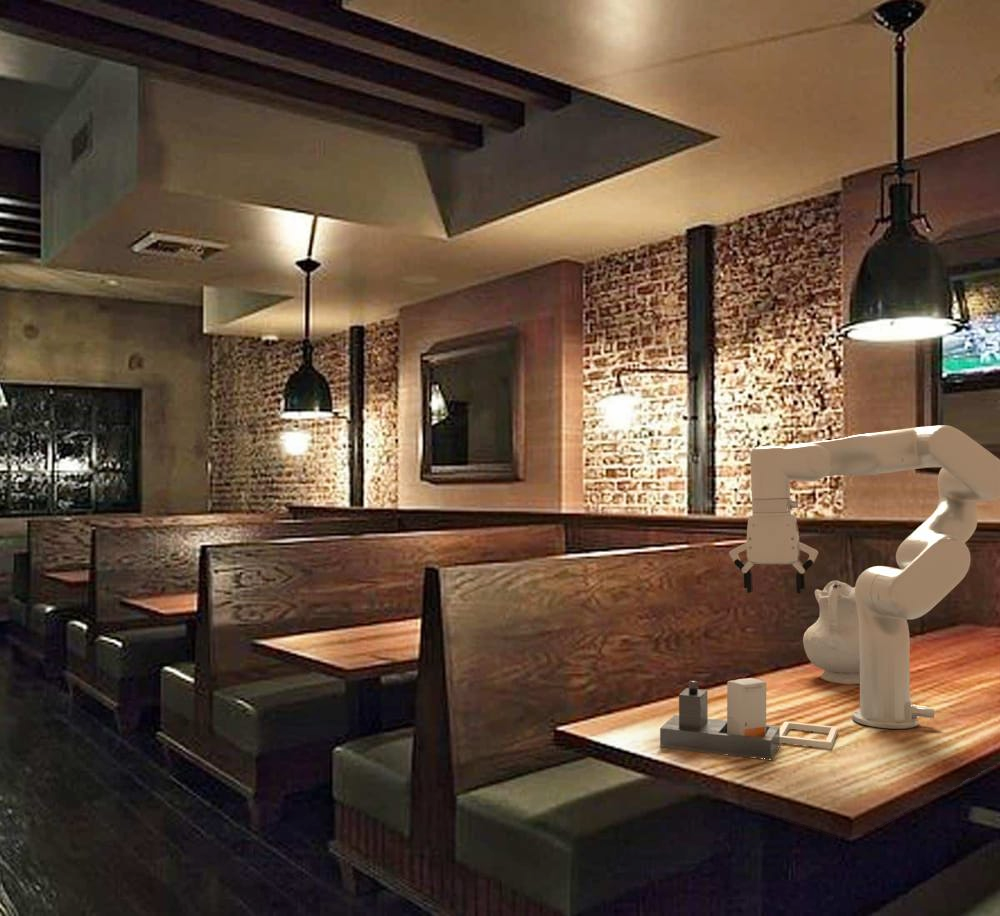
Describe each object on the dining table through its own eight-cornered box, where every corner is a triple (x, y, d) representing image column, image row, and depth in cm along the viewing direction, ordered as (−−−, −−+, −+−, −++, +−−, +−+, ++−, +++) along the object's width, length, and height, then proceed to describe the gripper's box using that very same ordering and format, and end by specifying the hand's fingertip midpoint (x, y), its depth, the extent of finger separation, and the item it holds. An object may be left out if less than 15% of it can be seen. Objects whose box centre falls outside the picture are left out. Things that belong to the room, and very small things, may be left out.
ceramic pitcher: (885, 697, 222) (894, 590, 222) (797, 684, 229) (805, 580, 228) (882, 679, 242) (890, 581, 242) (802, 667, 249) (809, 572, 249)
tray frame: (837, 732, 188) (837, 726, 188) (831, 749, 177) (831, 742, 177) (784, 727, 192) (784, 721, 192) (775, 742, 181) (775, 736, 181)
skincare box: (742, 751, 173) (742, 685, 174) (726, 745, 177) (726, 680, 177) (767, 746, 176) (767, 681, 177) (751, 741, 180) (750, 677, 180)
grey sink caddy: (779, 745, 179) (779, 683, 179) (770, 760, 170) (770, 695, 170) (674, 733, 188) (674, 674, 188) (660, 746, 178) (659, 684, 178)
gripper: (817, 505, 194) (821, 590, 193) (730, 507, 200) (733, 589, 200) (814, 507, 187) (818, 595, 186) (724, 509, 193) (728, 594, 193)
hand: (774, 592), depth 193 cm, fingers open, 9 cm apart
